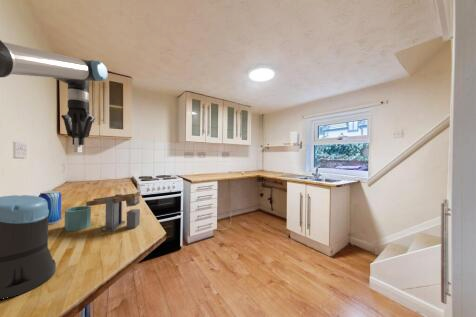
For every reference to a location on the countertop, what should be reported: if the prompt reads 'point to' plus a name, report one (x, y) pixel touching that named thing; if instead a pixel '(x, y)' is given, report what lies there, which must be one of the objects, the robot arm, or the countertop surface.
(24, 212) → the robot arm
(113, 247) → the countertop surface
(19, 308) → the countertop surface
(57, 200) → the beer can
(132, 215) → the block
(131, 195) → the lever
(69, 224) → the teal beaker
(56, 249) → the countertop surface
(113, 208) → the stand
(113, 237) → the countertop surface
